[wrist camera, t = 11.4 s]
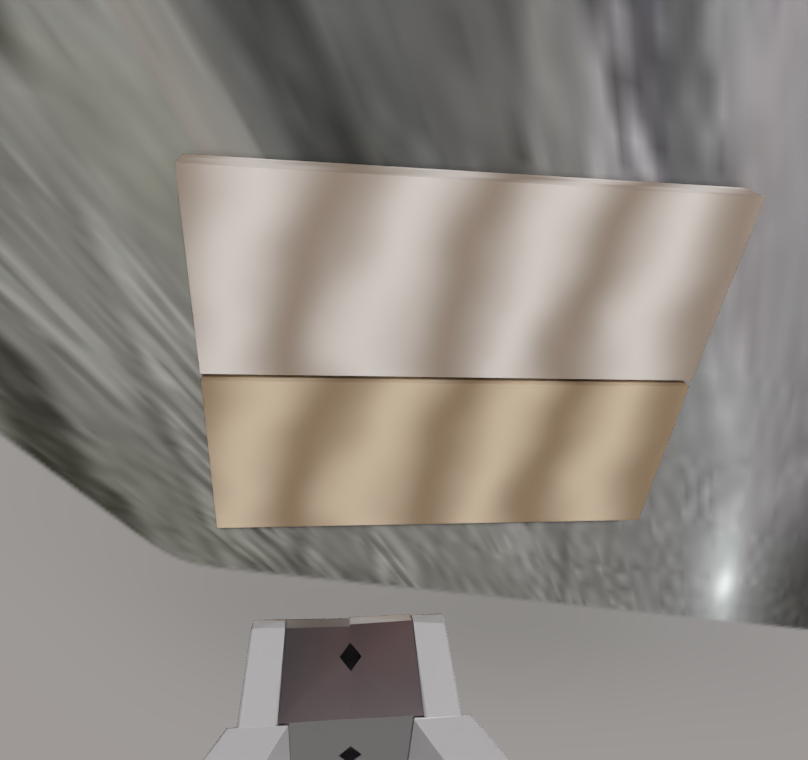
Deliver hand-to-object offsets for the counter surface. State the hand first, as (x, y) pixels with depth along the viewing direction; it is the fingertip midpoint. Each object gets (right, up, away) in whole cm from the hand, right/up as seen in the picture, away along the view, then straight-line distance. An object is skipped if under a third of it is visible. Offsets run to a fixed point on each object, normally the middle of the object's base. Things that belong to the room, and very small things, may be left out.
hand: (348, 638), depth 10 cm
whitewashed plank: (+4, +9, +20) cm, 22 cm away
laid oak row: (+3, +1, +25) cm, 26 cm away
